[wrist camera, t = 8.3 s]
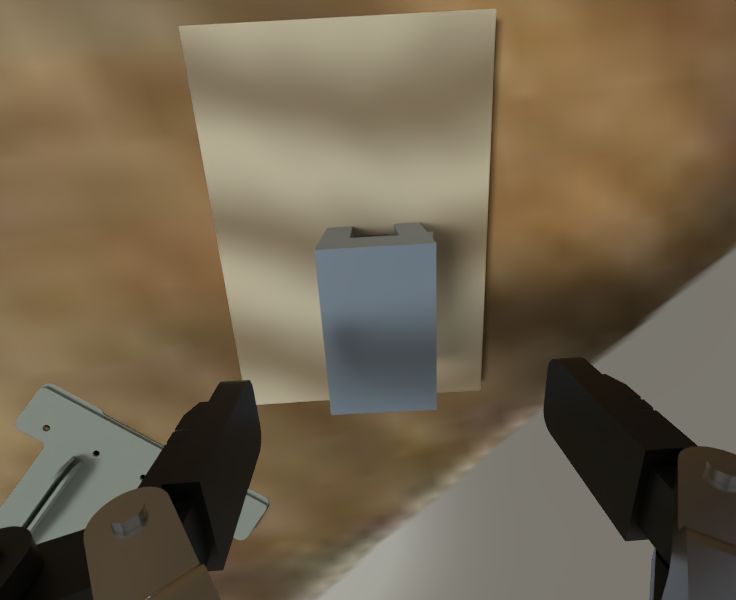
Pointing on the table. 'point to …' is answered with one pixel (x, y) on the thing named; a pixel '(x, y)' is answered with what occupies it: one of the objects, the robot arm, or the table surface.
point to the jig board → (343, 172)
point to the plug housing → (379, 319)
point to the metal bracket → (84, 468)
